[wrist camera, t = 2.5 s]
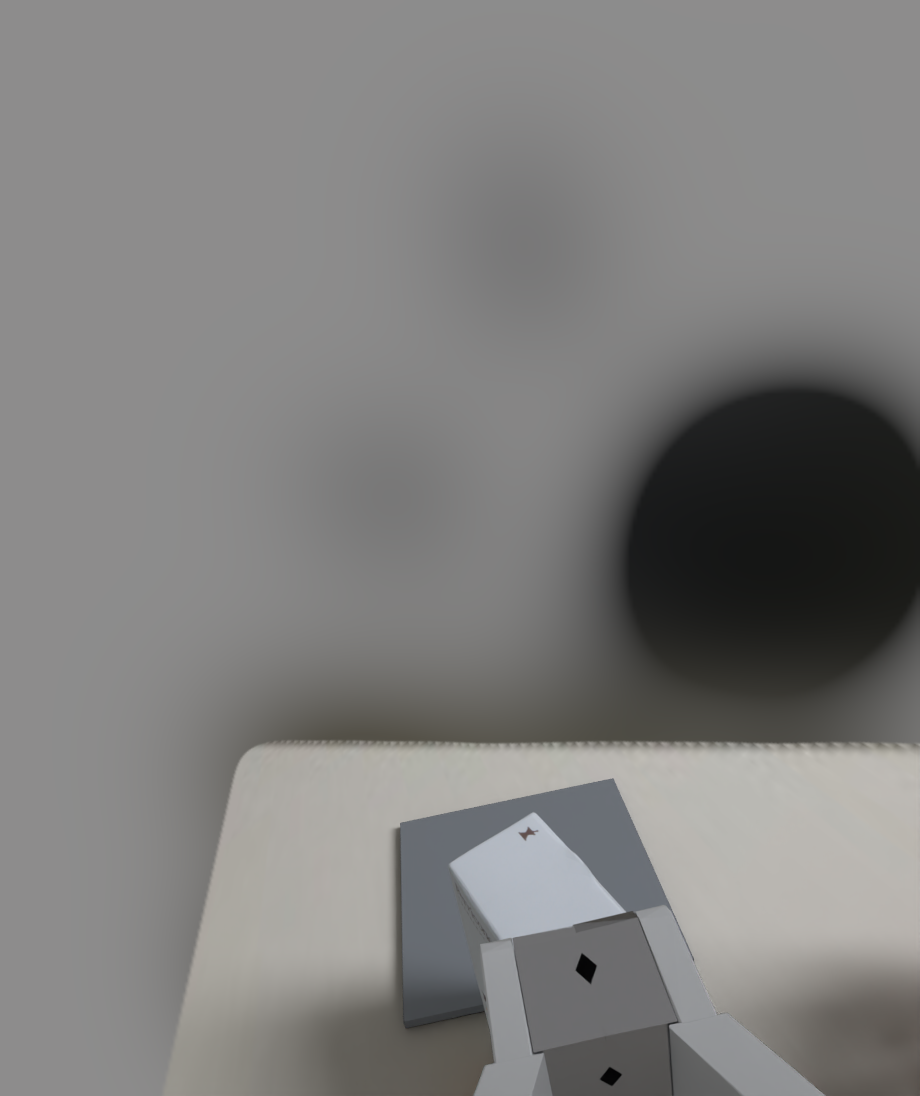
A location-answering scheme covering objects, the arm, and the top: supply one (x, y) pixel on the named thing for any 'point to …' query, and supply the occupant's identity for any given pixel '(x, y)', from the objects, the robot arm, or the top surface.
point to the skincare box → (523, 888)
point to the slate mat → (434, 842)
